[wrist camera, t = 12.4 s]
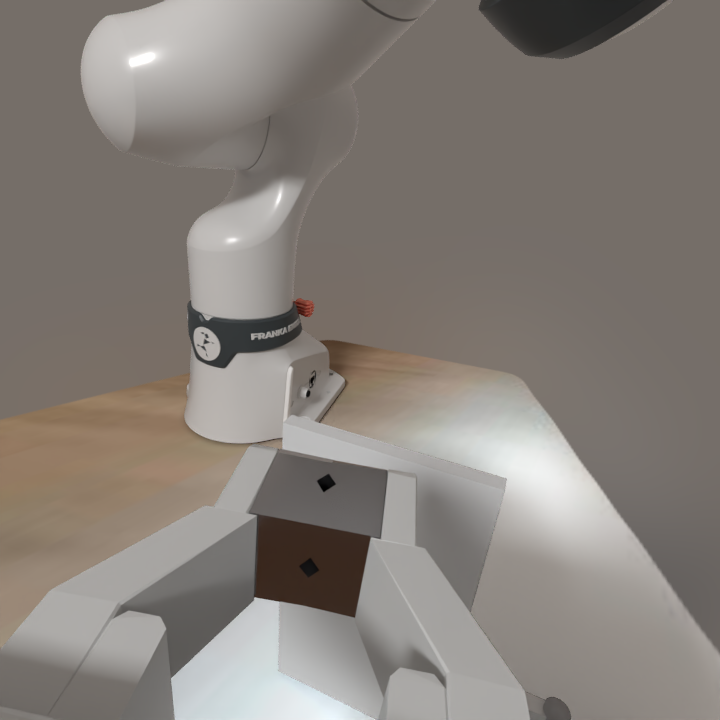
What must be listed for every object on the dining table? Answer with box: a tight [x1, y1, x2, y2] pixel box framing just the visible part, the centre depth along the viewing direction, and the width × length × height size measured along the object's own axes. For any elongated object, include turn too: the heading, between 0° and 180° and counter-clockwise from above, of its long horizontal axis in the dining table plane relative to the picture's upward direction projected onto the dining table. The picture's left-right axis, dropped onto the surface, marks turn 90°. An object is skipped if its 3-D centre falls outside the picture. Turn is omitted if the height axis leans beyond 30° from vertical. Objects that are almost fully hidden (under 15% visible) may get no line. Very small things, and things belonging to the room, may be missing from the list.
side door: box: [278, 415, 571, 720], centre depth 23 cm, size 16×1×19 cm, turn 68°
